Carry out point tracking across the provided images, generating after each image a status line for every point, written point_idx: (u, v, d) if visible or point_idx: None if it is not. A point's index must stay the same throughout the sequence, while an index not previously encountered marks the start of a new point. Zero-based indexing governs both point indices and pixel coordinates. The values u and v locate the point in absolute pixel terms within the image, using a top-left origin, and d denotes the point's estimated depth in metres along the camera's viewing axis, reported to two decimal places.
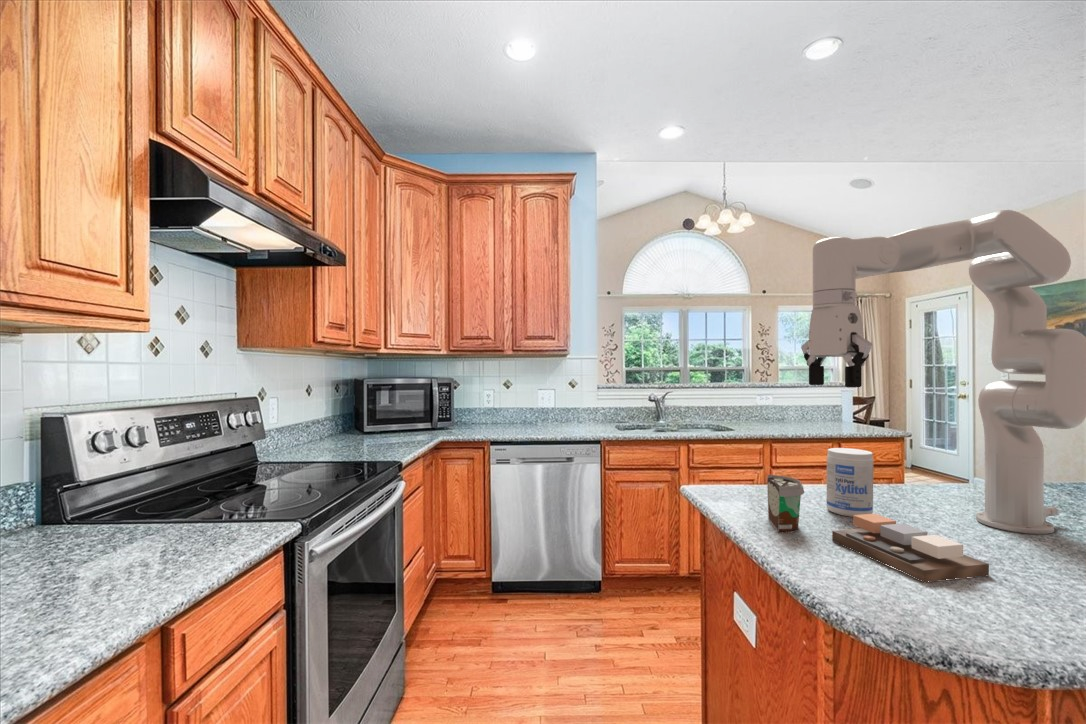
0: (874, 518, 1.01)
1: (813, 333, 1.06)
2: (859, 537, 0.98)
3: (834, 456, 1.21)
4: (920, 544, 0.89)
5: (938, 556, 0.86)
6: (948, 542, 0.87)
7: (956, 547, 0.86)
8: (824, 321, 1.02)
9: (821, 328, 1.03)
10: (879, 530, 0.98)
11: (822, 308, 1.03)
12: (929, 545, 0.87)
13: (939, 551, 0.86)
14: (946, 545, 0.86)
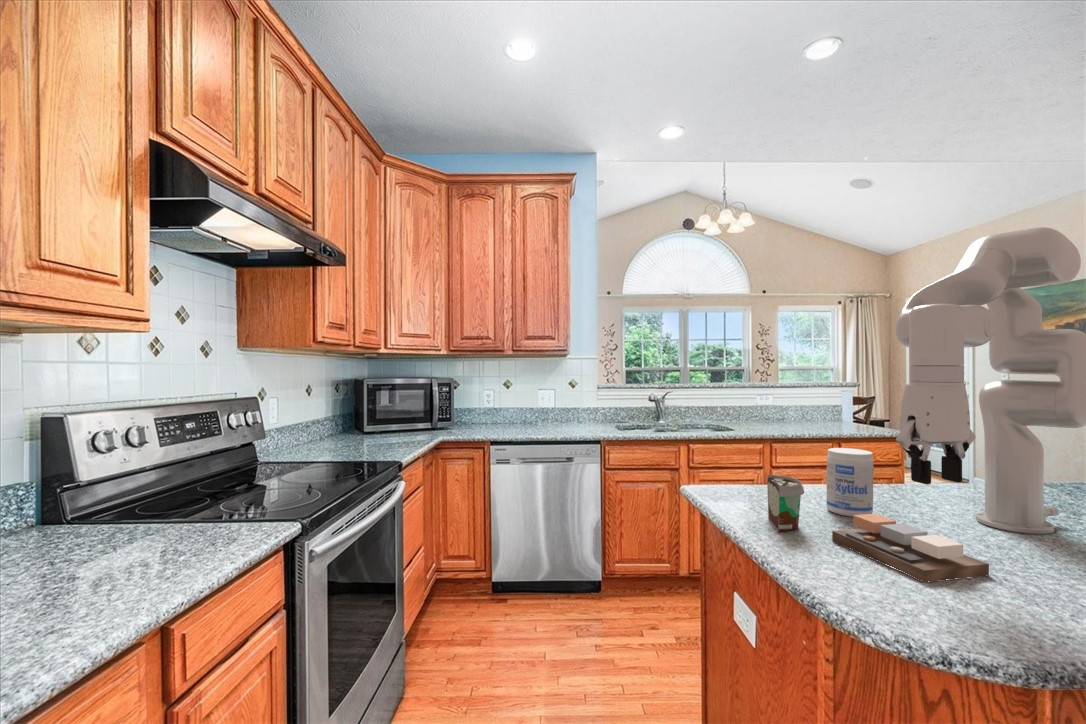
0: (874, 518, 1.01)
1: (934, 415, 0.86)
2: (859, 537, 0.98)
3: (834, 456, 1.21)
4: (920, 544, 0.89)
5: (938, 556, 0.86)
6: (948, 542, 0.87)
7: (956, 547, 0.86)
8: (952, 402, 0.86)
9: (948, 410, 0.86)
10: (879, 530, 0.98)
11: (950, 386, 0.86)
12: (929, 545, 0.87)
13: (939, 551, 0.86)
14: (946, 545, 0.86)
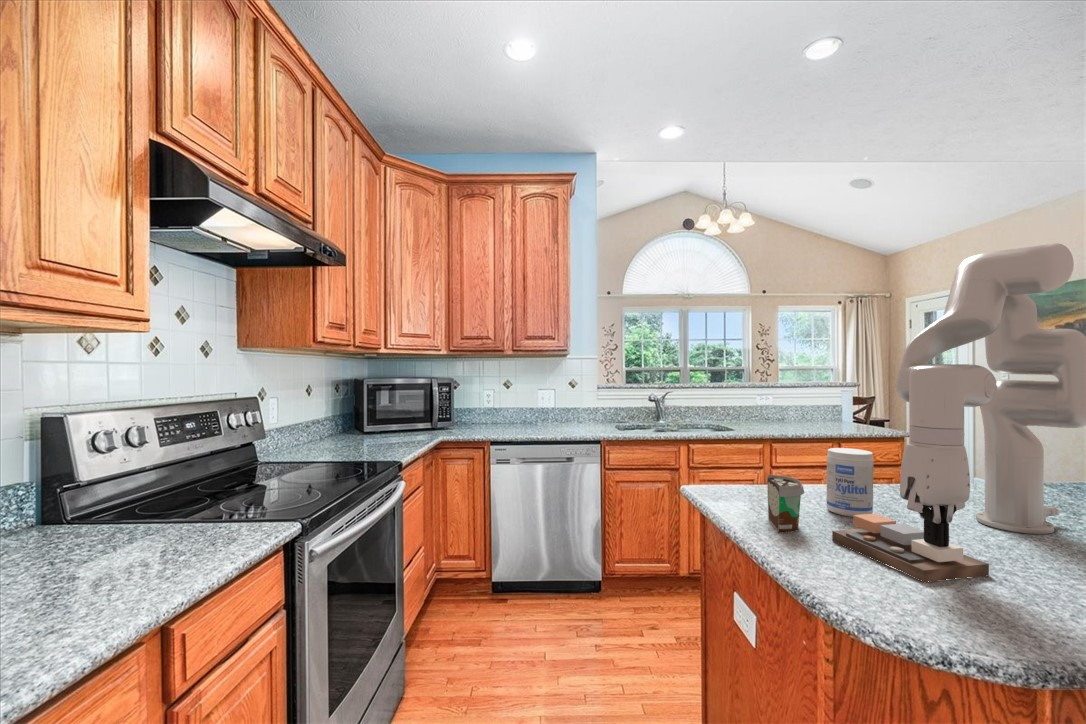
0: (874, 518, 1.01)
1: (934, 478, 0.86)
2: (859, 537, 0.98)
3: (834, 456, 1.21)
4: (920, 547, 0.89)
5: (938, 559, 0.86)
6: (948, 546, 0.87)
7: (956, 551, 0.86)
8: (952, 464, 0.86)
9: (948, 472, 0.86)
10: (879, 530, 0.98)
11: (950, 448, 0.86)
12: (929, 549, 0.87)
13: (939, 554, 0.86)
14: (946, 548, 0.86)
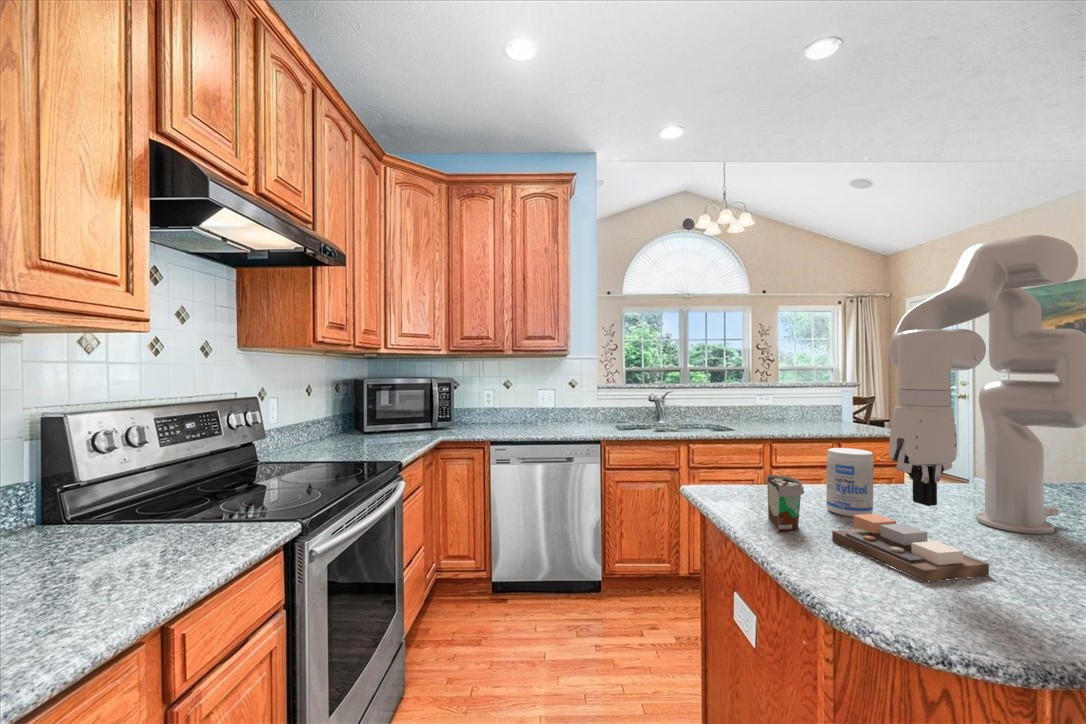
0: (874, 518, 1.01)
1: (923, 438, 0.88)
2: (859, 537, 0.98)
3: (834, 456, 1.21)
4: (920, 550, 0.89)
5: (938, 562, 0.86)
6: (948, 549, 0.87)
7: (956, 554, 0.86)
8: (939, 425, 0.88)
9: (936, 433, 0.88)
10: (879, 530, 0.98)
11: (937, 409, 0.88)
12: (929, 552, 0.87)
13: (939, 557, 0.86)
14: (946, 551, 0.86)
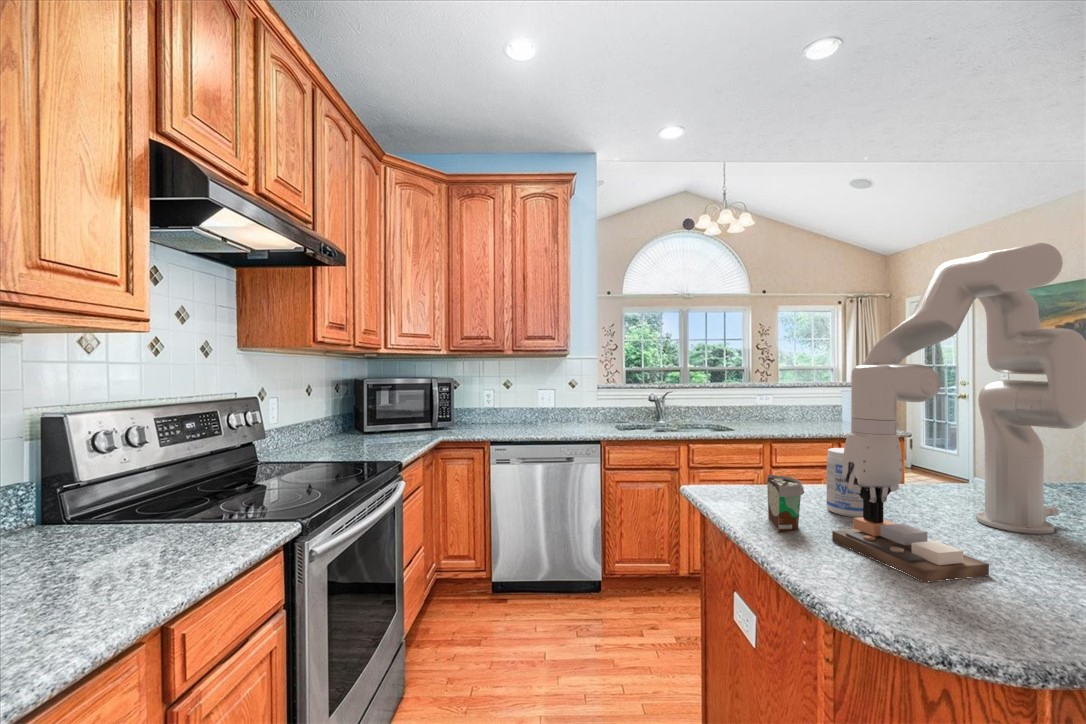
0: None
1: (870, 463, 0.98)
2: (859, 537, 0.98)
3: (834, 456, 1.21)
4: (920, 550, 0.89)
5: (938, 562, 0.86)
6: (948, 549, 0.87)
7: (956, 554, 0.86)
8: (886, 451, 0.99)
9: (882, 458, 0.99)
10: (879, 533, 0.98)
11: (884, 437, 0.99)
12: (929, 552, 0.87)
13: (939, 557, 0.86)
14: (946, 551, 0.86)
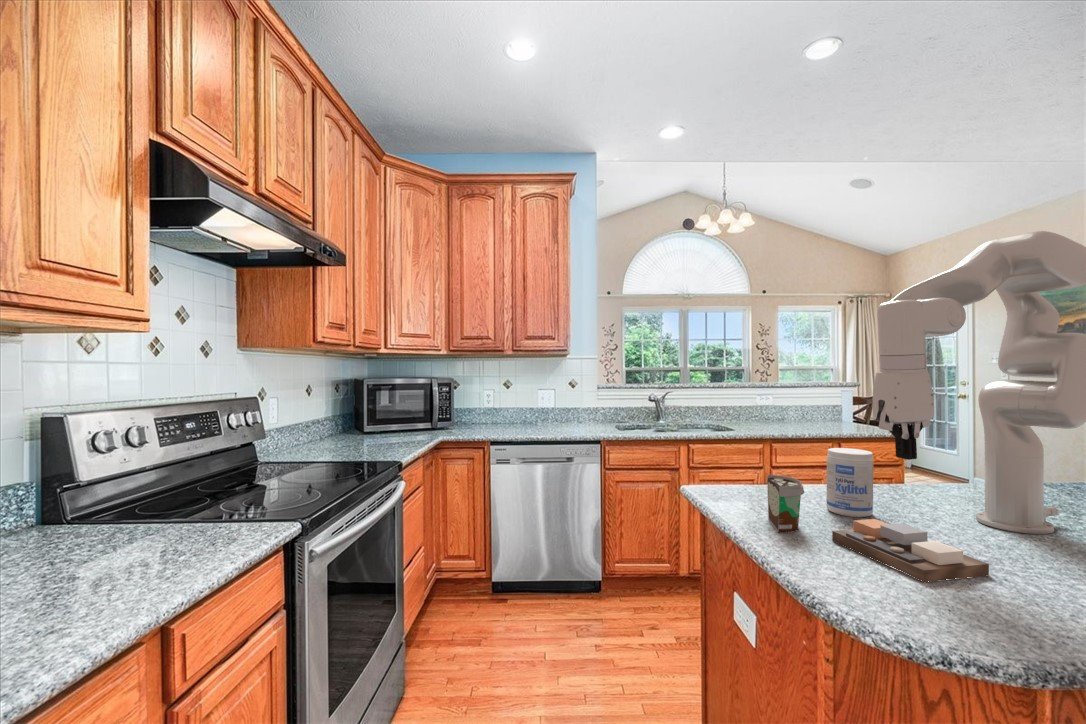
0: (874, 524, 1.01)
1: (901, 399, 0.97)
2: (859, 537, 0.98)
3: (834, 456, 1.21)
4: (920, 550, 0.89)
5: (938, 562, 0.86)
6: (948, 549, 0.87)
7: (956, 554, 0.86)
8: (916, 386, 0.98)
9: (913, 393, 0.98)
10: (879, 536, 0.98)
11: (914, 372, 0.97)
12: (929, 552, 0.87)
13: (939, 557, 0.86)
14: (946, 551, 0.86)
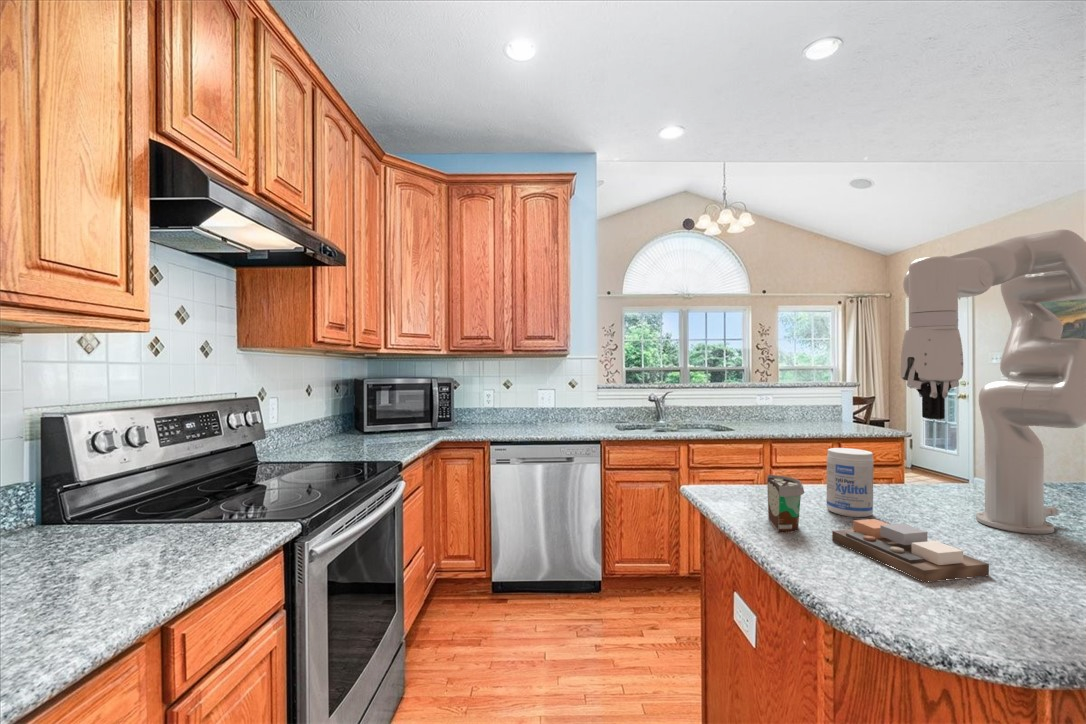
0: (874, 524, 1.01)
1: (931, 356, 0.96)
2: (859, 537, 0.98)
3: (834, 456, 1.21)
4: (920, 550, 0.89)
5: (938, 562, 0.86)
6: (948, 549, 0.87)
7: (956, 554, 0.86)
8: (947, 344, 0.96)
9: (943, 351, 0.96)
10: (879, 536, 0.98)
11: (945, 330, 0.96)
12: (929, 552, 0.87)
13: (939, 557, 0.86)
14: (946, 551, 0.86)
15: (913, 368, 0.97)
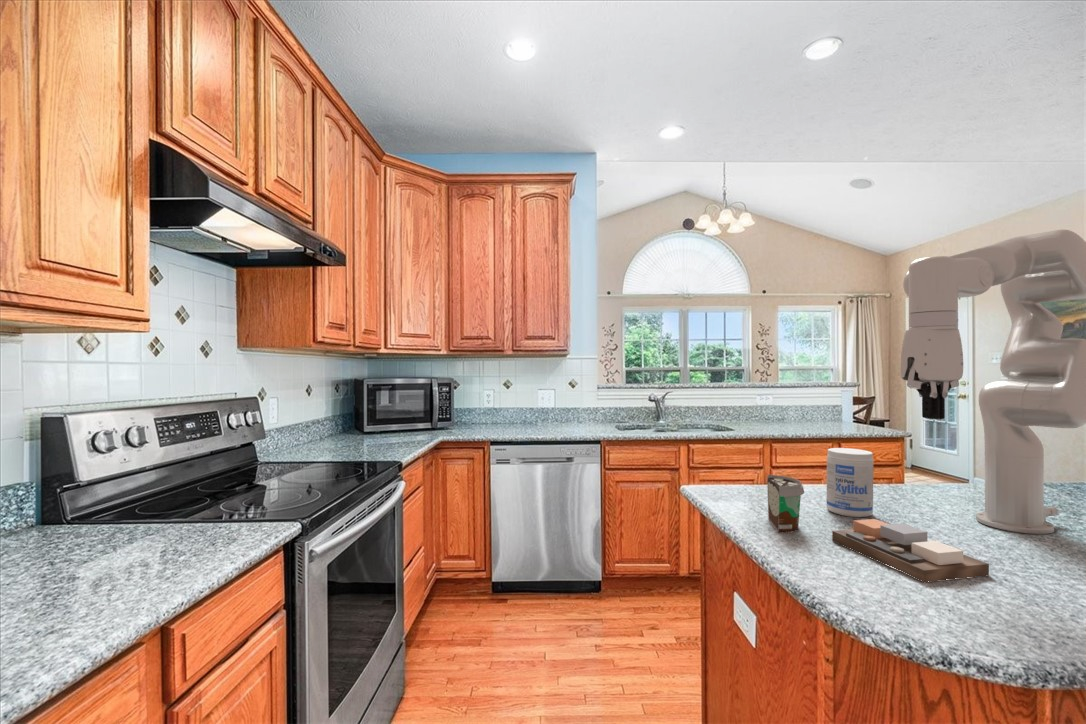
0: (874, 524, 1.01)
1: (931, 356, 0.96)
2: (859, 537, 0.98)
3: (834, 456, 1.21)
4: (920, 550, 0.89)
5: (938, 562, 0.86)
6: (948, 549, 0.87)
7: (956, 554, 0.86)
8: (947, 344, 0.96)
9: (943, 351, 0.96)
10: (879, 536, 0.98)
11: (945, 330, 0.96)
12: (929, 552, 0.87)
13: (939, 557, 0.86)
14: (946, 551, 0.86)
15: (913, 368, 0.97)
